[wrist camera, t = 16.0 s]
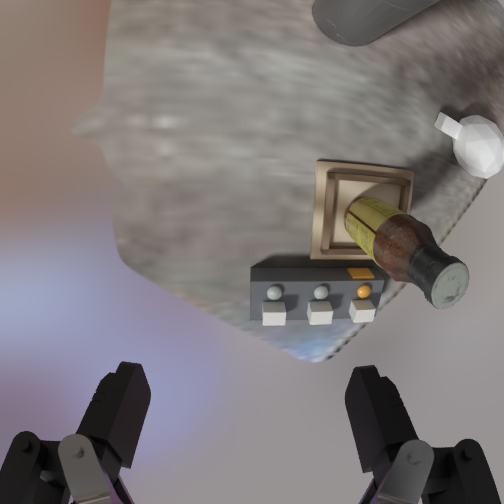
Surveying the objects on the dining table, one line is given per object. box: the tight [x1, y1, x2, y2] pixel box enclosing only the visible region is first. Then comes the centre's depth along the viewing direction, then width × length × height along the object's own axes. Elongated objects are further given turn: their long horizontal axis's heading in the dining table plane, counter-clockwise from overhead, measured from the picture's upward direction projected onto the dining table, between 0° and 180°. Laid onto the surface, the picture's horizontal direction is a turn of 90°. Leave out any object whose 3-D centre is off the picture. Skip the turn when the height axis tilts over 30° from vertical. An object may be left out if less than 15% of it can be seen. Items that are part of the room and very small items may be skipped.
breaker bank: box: [250, 267, 385, 325], centre depth 37 cm, size 6×18×6 cm, turn 90°
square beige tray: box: [310, 161, 415, 260], centre depth 35 cm, size 13×14×2 cm
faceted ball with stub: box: [434, 112, 504, 179], centre depth 27 cm, size 9×9×12 cm
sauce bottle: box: [344, 196, 469, 309], centre depth 26 cm, size 6×6×20 cm
